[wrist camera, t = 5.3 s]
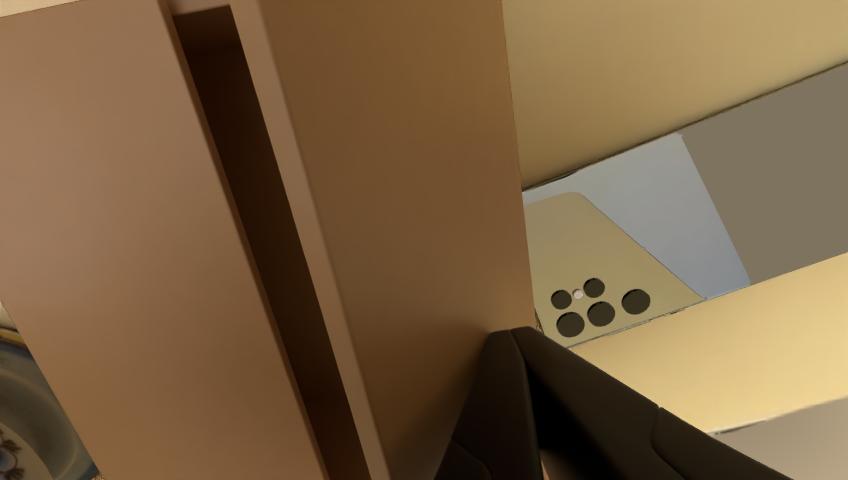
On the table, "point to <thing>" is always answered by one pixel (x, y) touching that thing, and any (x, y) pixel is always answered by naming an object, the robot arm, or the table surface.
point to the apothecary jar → (35, 422)
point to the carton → (161, 249)
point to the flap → (398, 199)
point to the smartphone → (692, 212)
